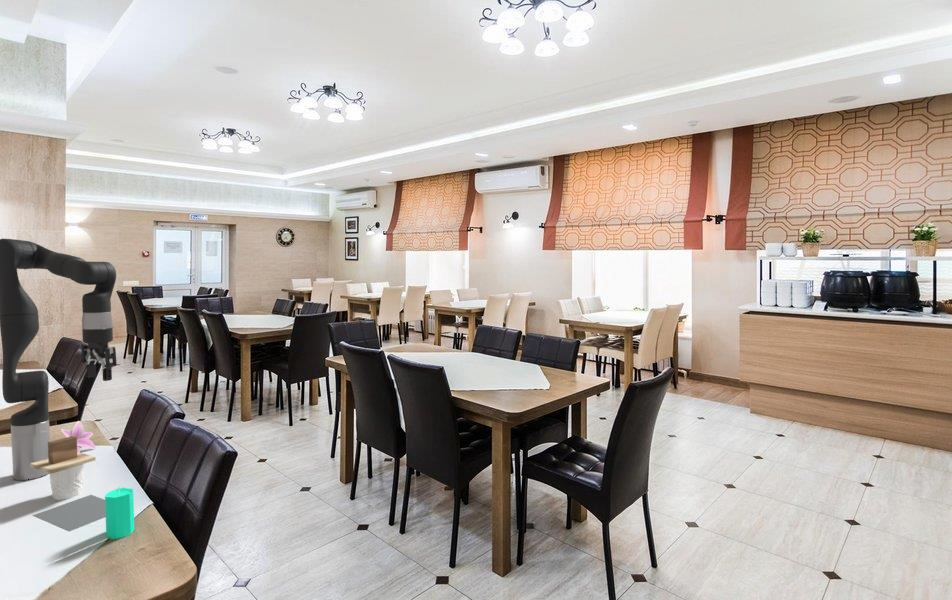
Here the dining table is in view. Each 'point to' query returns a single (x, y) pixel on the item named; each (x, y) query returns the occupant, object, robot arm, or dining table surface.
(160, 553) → the dining table surface
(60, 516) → the mat
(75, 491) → the white cup
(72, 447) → the lid
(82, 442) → the lily
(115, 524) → the candle
